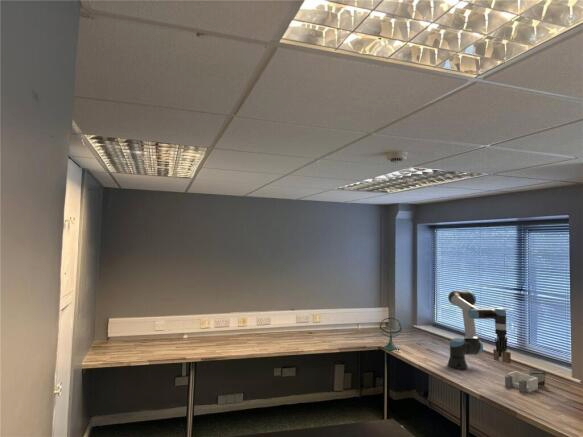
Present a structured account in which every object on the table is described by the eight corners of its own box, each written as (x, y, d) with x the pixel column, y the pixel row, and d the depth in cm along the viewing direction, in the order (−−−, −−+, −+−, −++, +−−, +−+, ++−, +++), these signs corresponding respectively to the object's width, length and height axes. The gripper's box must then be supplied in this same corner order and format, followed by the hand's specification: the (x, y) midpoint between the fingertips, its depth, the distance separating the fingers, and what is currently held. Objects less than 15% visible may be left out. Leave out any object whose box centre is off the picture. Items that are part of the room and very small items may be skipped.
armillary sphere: (383, 353, 352) (383, 315, 357) (376, 347, 377) (376, 312, 382) (405, 353, 352) (405, 316, 357) (397, 347, 378) (397, 312, 382)
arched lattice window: (540, 382, 283) (540, 369, 284) (546, 385, 277) (546, 372, 278) (525, 382, 283) (524, 369, 284) (530, 385, 277) (530, 372, 277)
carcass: (503, 385, 276) (503, 374, 276) (515, 381, 284) (515, 371, 284) (525, 393, 262) (525, 381, 262) (537, 389, 270) (537, 377, 271)
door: (493, 359, 283) (493, 349, 284) (495, 359, 284) (494, 348, 285) (509, 363, 273) (508, 352, 274) (511, 363, 274) (510, 352, 275)
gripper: (499, 330, 274) (500, 363, 272) (511, 329, 282) (512, 360, 279) (490, 328, 281) (491, 360, 279) (501, 327, 288) (502, 358, 286)
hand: (501, 360), depth 279 cm, fingers closed on door, 2 cm apart
